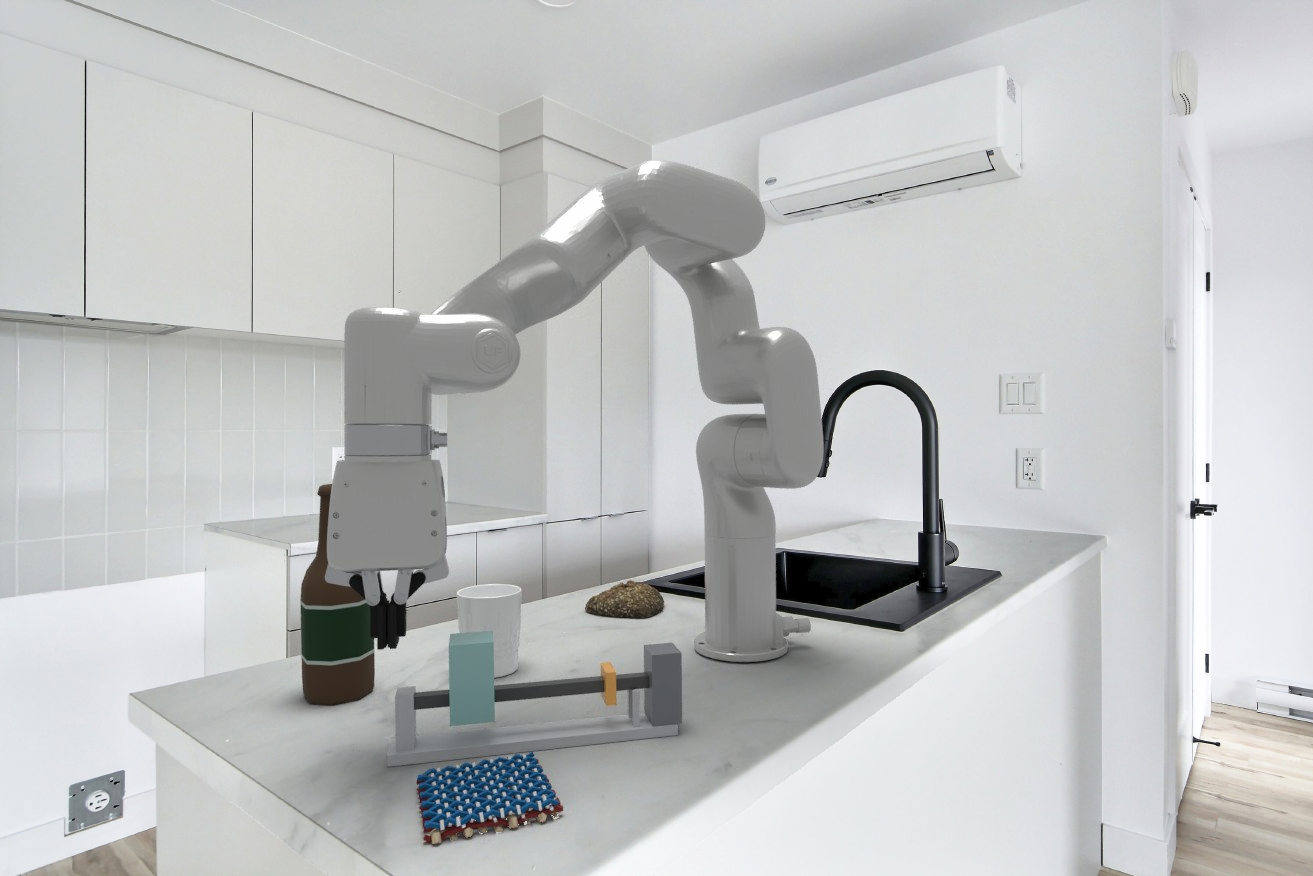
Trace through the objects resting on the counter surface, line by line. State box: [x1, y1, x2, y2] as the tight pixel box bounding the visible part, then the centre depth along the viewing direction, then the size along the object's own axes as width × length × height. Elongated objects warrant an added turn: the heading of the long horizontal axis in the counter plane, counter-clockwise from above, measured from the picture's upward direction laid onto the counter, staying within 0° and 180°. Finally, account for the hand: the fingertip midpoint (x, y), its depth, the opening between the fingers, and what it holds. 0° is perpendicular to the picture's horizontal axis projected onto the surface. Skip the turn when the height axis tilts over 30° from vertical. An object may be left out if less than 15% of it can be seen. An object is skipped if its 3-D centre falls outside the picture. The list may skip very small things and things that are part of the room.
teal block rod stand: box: [386, 642, 683, 768], centre depth 73 cm, size 28×4×8 cm, turn 103°
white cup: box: [456, 583, 522, 679], centre depth 94 cm, size 8×8×10 cm
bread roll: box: [584, 579, 665, 620], centre depth 125 cm, size 13×12×5 cm
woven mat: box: [416, 751, 564, 845], centre depth 61 cm, size 10×11×2 cm
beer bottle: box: [299, 483, 376, 706], centre depth 86 cm, size 8×8×24 cm
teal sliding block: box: [448, 631, 496, 727], centre depth 71 cm, size 4×4×7 cm
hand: (388, 644), depth 69 cm, fingers closed
